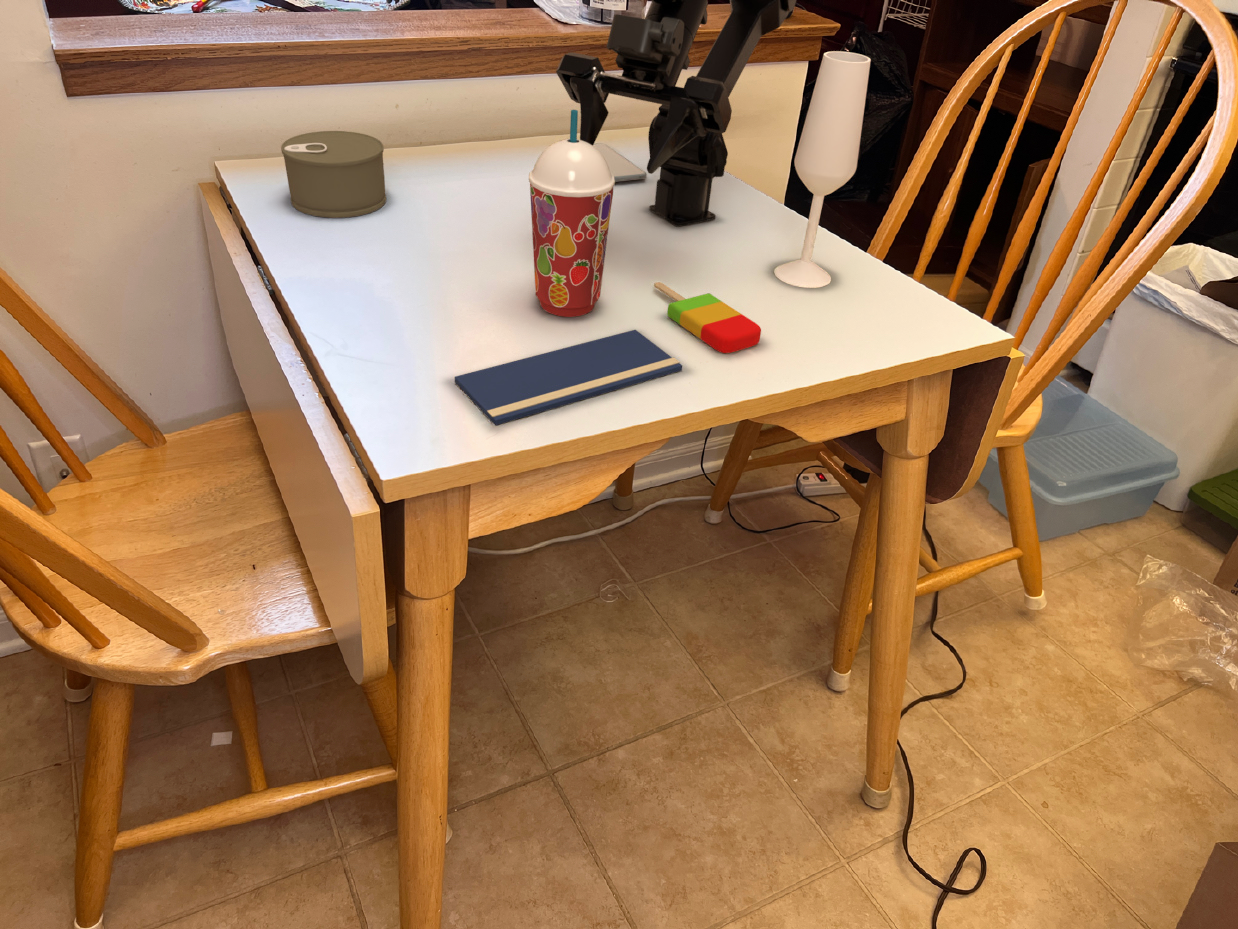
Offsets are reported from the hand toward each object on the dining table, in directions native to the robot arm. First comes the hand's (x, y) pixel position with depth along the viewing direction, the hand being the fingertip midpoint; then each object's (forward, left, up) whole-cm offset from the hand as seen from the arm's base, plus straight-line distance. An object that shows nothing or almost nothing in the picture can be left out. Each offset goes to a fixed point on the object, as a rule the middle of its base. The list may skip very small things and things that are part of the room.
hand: (615, 163), depth 96 cm
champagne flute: (-21, +10, -13) cm, 26 cm away
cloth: (+15, +17, -12) cm, 26 cm away
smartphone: (-19, -31, -13) cm, 38 cm away
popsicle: (-2, +14, -13) cm, 19 cm away
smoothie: (+8, +5, -13) cm, 16 cm away
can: (+19, -33, -13) cm, 40 cm away
